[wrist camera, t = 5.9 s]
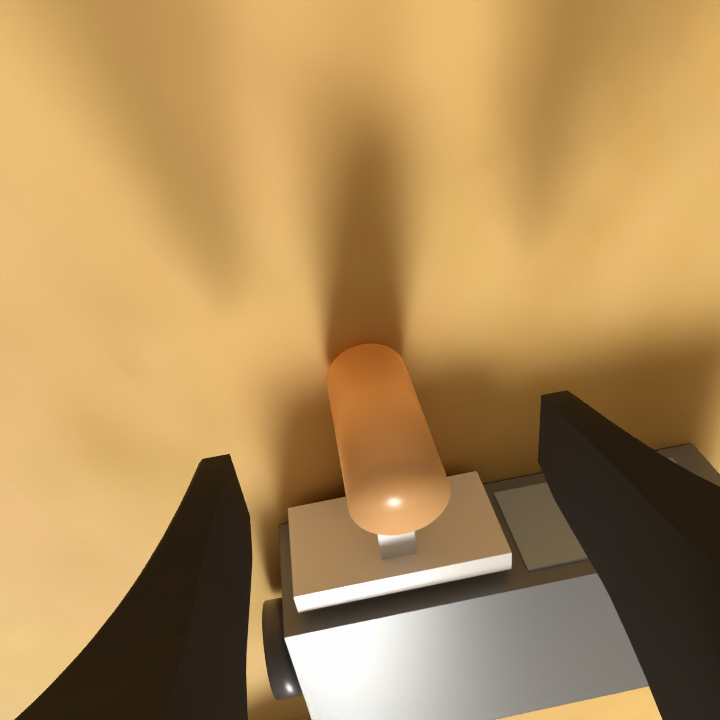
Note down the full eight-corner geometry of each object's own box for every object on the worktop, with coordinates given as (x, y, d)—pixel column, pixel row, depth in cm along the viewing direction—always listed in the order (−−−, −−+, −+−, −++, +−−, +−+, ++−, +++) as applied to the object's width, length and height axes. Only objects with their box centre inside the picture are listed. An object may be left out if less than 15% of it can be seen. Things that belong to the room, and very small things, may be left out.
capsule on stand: (472, 321, 16) (539, 433, 13) (477, 486, 20) (529, 613, 16) (248, 363, 16) (247, 490, 12) (291, 523, 20) (301, 661, 16)
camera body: (692, 441, 21) (774, 534, 18) (660, 573, 25) (723, 669, 22) (247, 529, 20) (247, 643, 17) (288, 651, 24) (294, 763, 21)
